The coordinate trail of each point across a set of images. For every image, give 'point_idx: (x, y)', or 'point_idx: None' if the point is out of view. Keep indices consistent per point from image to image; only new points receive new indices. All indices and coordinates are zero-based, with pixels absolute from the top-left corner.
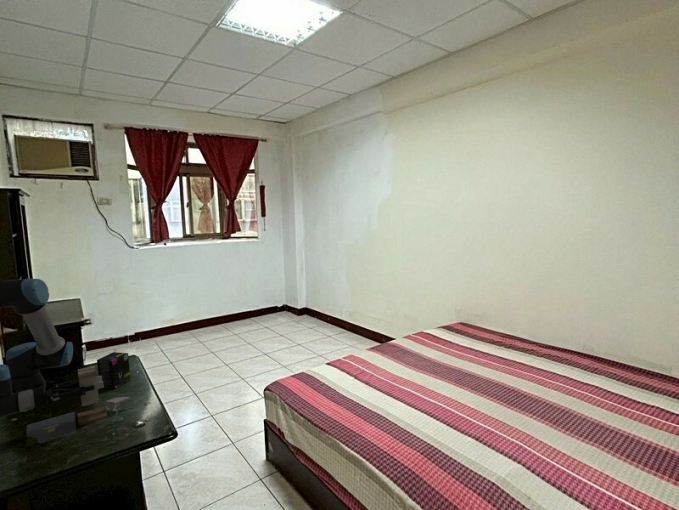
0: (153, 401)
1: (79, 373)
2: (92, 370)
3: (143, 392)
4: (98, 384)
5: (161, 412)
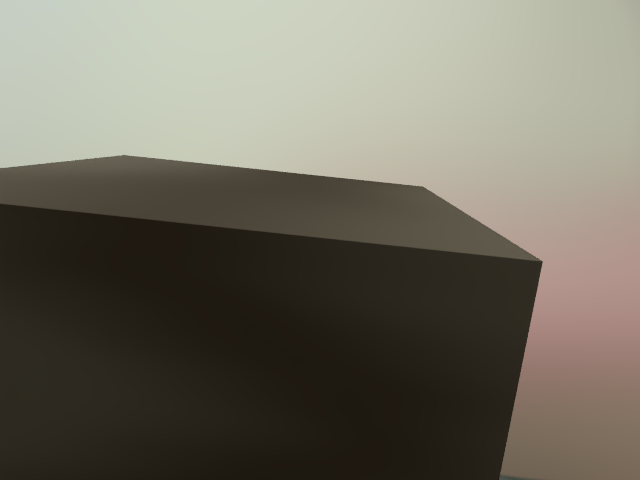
0: None
1: (447, 241)
2: (391, 189)
3: None
4: None
5: (502, 476)
